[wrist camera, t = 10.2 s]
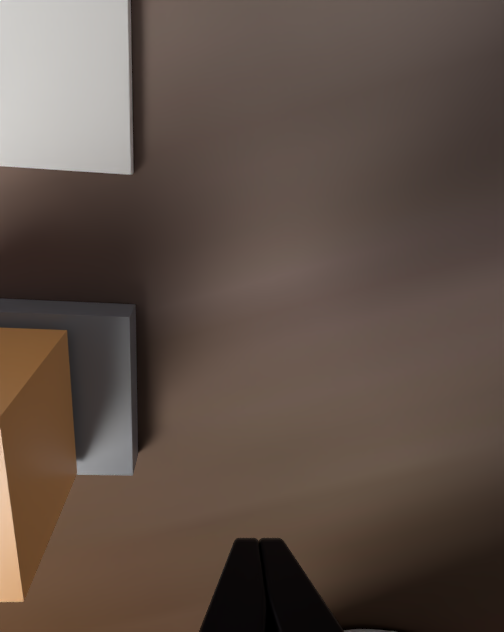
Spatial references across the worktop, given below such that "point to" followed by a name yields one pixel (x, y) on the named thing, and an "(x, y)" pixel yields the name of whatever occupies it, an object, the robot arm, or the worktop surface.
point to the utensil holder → (366, 630)
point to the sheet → (66, 85)
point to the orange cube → (32, 450)
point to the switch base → (93, 376)
